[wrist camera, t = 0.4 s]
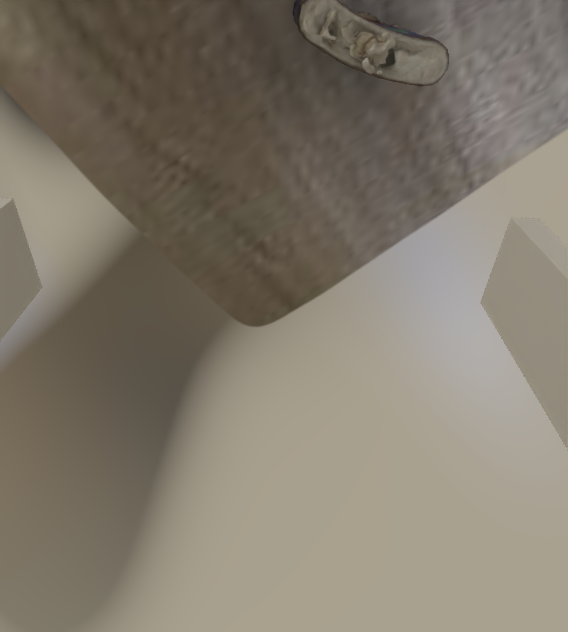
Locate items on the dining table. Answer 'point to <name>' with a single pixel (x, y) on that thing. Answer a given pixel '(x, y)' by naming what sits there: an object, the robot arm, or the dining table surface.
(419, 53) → the flask
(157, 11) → the dining table surface
